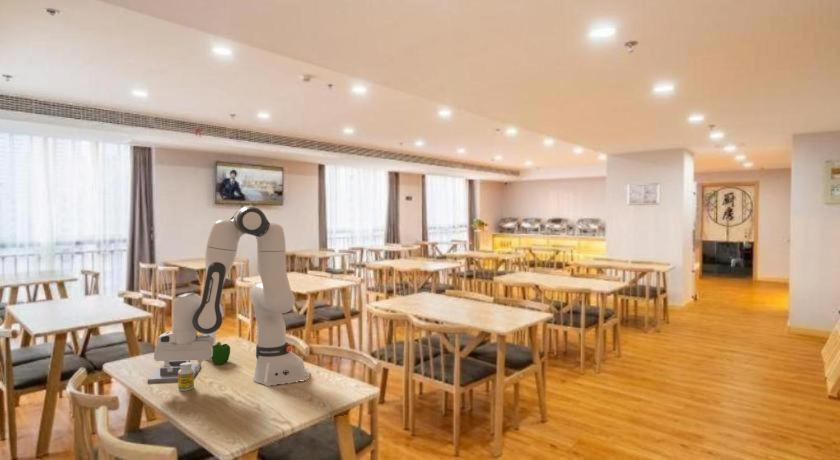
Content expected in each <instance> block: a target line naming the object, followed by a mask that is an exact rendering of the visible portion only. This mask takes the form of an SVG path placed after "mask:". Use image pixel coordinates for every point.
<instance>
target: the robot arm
mask: <svg viewBox="0 0 840 460" xmlns="http://www.w3.org/2000/svg"><path fill="white" fill-rule="evenodd" d="M244 235H251V236H254V237H255V239H256V247H257V248H256V250H257V251H256V255H257V257H256V259H257V260H256V261H257V262H256V263H257V264H256V265H257V267H256V269H257V272H258V274H259V277H260V280H261V282H257V283H255V284H254V285H253V286H252V287H251V288H250V290H249V299H250V300H251V303H252V306H253V311H254V316H255V321H256V327H257V328H256V330H257V339H256V340H257V341H256V343H257V344H256V347H255V358H256V363H255V365H256V366H255V371H254V374H253V377H252V380H253V382H255V383H258V384H263V385H264V386H266V387H271V385H273V386H278V385H277V384H281V385H284V384H283V383H288V384H291V383H290V382H296V381H300V380H305V379H307V378H308V377H309V375H310V376H311V373H310V370H309V368H307V367H305V364H304V361H303V359H302V357H300V356H298V355H297V354H296V353H294V352H292V346H291V345H292V344H291V343H290V342H287V341H286V328H287V327H286V323H285V320H284V318H283V316H282V314H286V313H288V312H290V311H291V310H292V309H293V308H294V306H295V304H296V298H295V294H294V293H293V291H292V289H291V286H290V282H289V278H288V273H287V267H286V266H287V265H286V264H287V263H286V262H287V258H286V255H287V254H286V237H285V232H284V228H283V227H282V225H280V224H279V223H275V222H270V221H269V220H268V218H267V217H266V215H265V213H264V212H263V211H262V210H261V209H259V208H258V207H256V206H252V205H246V206H242V207H241V208H240V209H238V210H237V211H236V212H235V213H234V214H233V216H232V217H231V218H230V219H219V220H217V221H215V222H214V223H213V225H212V227H211V229H210V232H209V236H208V239H207V243H206V247H205V258H204V259H205V261H204V262H205V281H204V282H205V283H204V287H203V288H204V289H203V293H202V296H201V295H199V294H197V293H195V292H187V293H186V292H185V293H182V294H179V295H178V296H176V297H175V298H174V300H173V303H172V308H171V309H172V310H171V311H172V312H171V313H172V314H171V319H172V326H171V330H170V331H166V332H163V333H161V334H160V335H159V336H158V337H157V343H156V345H155V346H154V347H155V348H154V352H153V359H154V360H155V361H156V362H164V364H165V365H166V367H167V368H168V369H167V372H172V371H173V366H170V364H169V362H170V361H177V360H190V361H197V364H198V365H196V366H195V367H194V369H195V370H194V371H198V372H199V371H200V369H201V368H200V364H201V365H202V363H203V361H207V360H208V361H209V360H211V359H212V358H211V357H212V356H213V348H212V345H213V338H212V337H211V336H209V335H201V333H203V334H210V333H213V332H215V331H216V332H217V331H218V330H219V329H220V328H221V326H222V324H223V317H224V314H225V309H224V306H223V305H222V304H221V301H222V300H221V299H222V294H223V288H224V285H225V281H226V278H227V276H228V275H229V273H230V271H231V270H232V267H233V265H234V263H235V259H236V256H237V252H238V251H237V250H238V246H239V242H240V239H241V237H242V236H244ZM198 333H200V335H199V334H198ZM209 337H211V338H209ZM164 364H163V365H164ZM199 368H200V369H199ZM309 378H310V377H309ZM309 378H308V379H309ZM308 379H307V380H308ZM296 383H297V382H296Z"/></svg>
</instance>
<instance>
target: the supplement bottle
mask: <svg viewBox="0 0 840 460" xmlns="http://www.w3.org/2000/svg"><path fill="white" fill-rule="evenodd" d="M192 364H193V363H192V362H191V361H190V362H186V363H182V364H180V370H179V371H178V381H177V383H178V384H177V385H178V387H177V388H178V391H182V392H186V391H190V390H193V389H194V387H195V379H194V377H195V376H194V370H193V368H191V366H192Z"/></svg>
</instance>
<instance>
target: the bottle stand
mask: <svg viewBox="0 0 840 460" xmlns="http://www.w3.org/2000/svg"><path fill="white" fill-rule="evenodd" d="M186 362H190V363H191V360H177V361H170V362H169V364H170V366H173V371H172V372H167V369H168V368H167V367H166V365H165V364H163V365H159V367H158V368H157V369H156V370H155V371H154V372H153V373H152V374H151V375H150V376H149V377H148V379H147V384H155V383H157V384H158V383H171V382H173V383H174V382H176V383H177V382H178V371H179V370H180V364H182V363H186ZM191 364H192V366H191V368H193V370H195V369H194V367H195V366H196V365H198V364H199V363H191ZM201 368H202V363H201V364H200V368H199V370H200V369H201ZM198 372H199V371H194V377H196V375H197V374H198Z"/></svg>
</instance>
